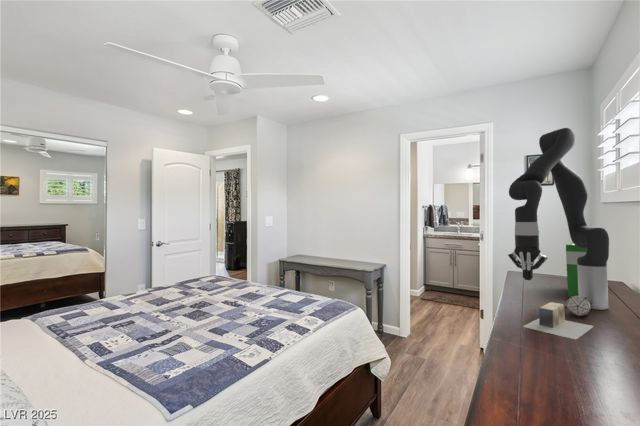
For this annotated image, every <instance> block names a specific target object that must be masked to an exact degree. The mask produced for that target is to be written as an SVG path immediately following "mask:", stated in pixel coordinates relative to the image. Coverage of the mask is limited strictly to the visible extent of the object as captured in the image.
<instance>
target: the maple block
mask: <svg viewBox="0 0 640 426" xmlns="http://www.w3.org/2000/svg"><path fill="white" fill-rule="evenodd" d="M564 307H565V304H563V303H558V302H552V301H550V302H548V303H546V304H544V305H542V306H539V307H538V318H539V324H540V325H542V326H546V327H551V328H554V327H555V326H557V325H559V324H560V323H562V322H564V321H565V320H566V318H565V315H566V314H565V308H564Z"/></svg>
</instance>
